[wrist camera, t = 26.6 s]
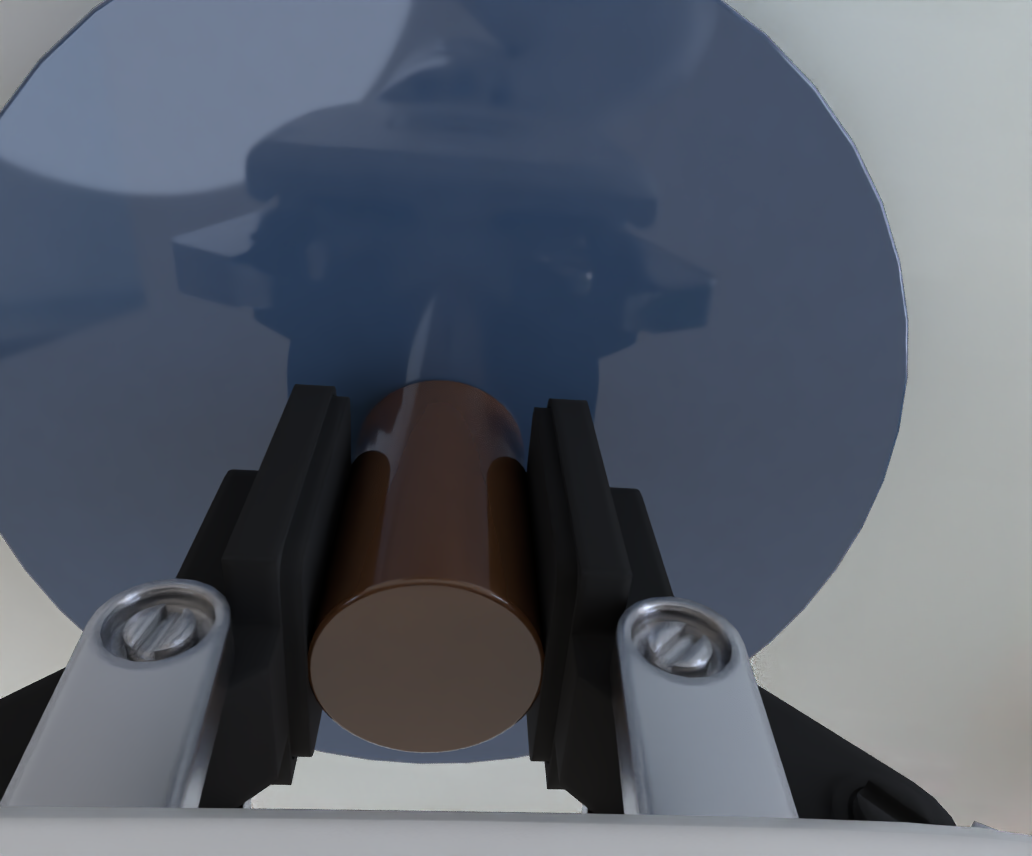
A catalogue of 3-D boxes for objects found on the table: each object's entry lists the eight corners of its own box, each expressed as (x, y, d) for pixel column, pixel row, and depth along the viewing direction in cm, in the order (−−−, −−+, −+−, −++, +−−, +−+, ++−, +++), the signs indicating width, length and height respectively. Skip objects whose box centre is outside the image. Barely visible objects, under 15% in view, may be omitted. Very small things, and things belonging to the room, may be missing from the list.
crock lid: (-140, -169, 10) (-800, -308, 5) (1021, -22, 11) (1481, -10, 6) (63, 704, 17) (-112, 1023, 12) (755, 729, 18) (864, 1024, 13)
